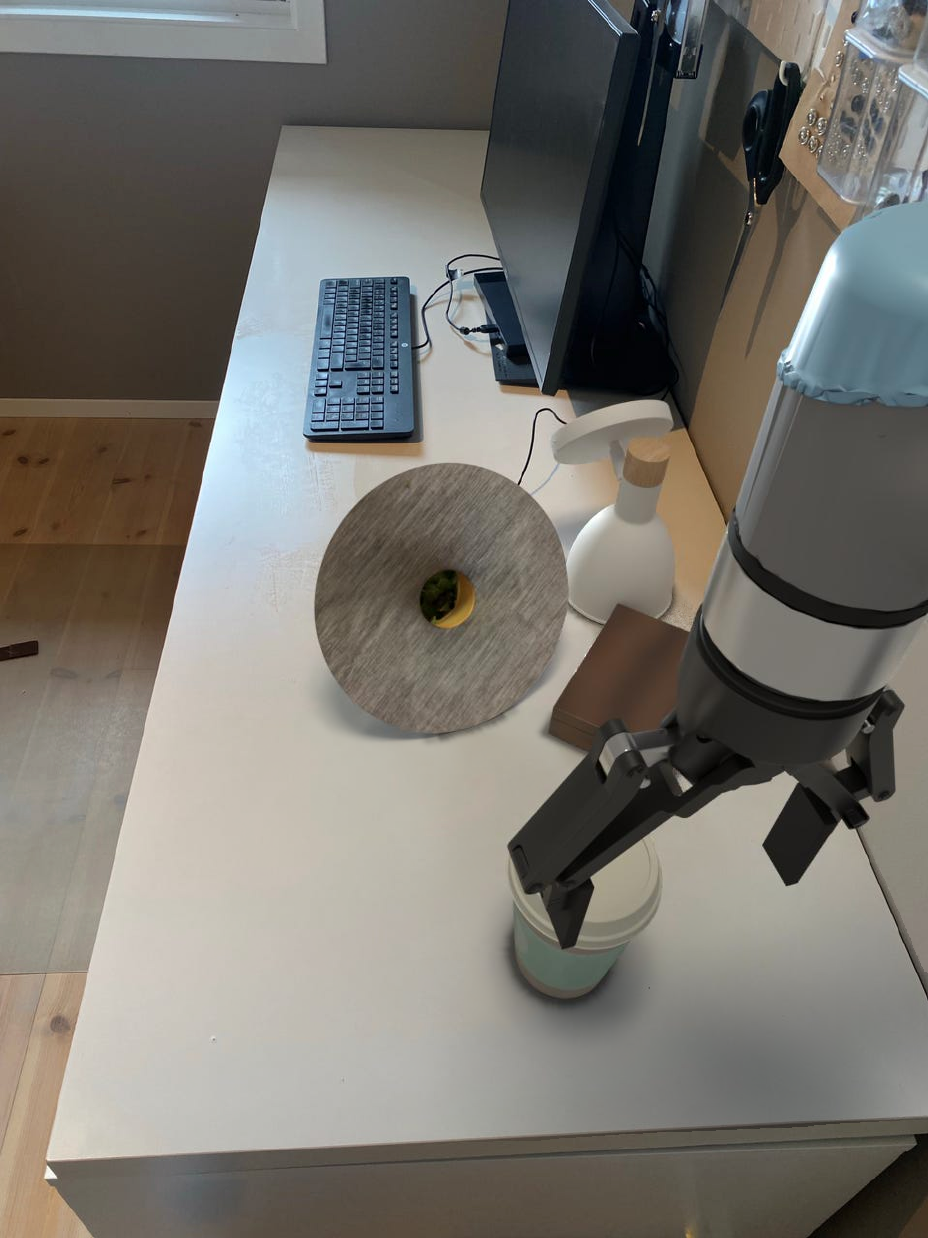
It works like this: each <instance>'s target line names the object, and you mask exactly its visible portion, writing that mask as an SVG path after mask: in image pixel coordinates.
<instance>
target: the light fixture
mask: <svg viewBox="0 0 928 1238" xmlns="http://www.w3.org/2000/svg"><path fill="white" fill-rule="evenodd" d="M673 427H674V420H673V416H672V413H671V409H670V406H669V404H668V403H667V402H665V401H663V400H658V399H639V400H632V401H626V402H621V403H616V404H613V405H609V406H606V407H603V408H600V409H596V410H593V411H591V412H587V413H586V414H583V415H581V416H579V417H577V418H574V419H573V420H571V421H568V422H567V423H565V424H564V425H562V426H561V427H559V428H558V429H557V430H555V432H553V434H551V436H550V438H549V444H550V448H551V452H552V456H553V459H554V462H557V463H558V464H562V465H568V466H569V465H571V466H573V465H586V464H593V463H599V462H603V461H607V460H611V464H612V467H613V471H614V475H615V478H616V481H617V482H618V481H620V482H619V486H618V491H617V495H616V500H615V502H614V503H612V504H610V505H607V506H606V507H604V508H603V509H602V510H600V511H599V512H598V513H596V514H595V515H594V516H592V518H591V519H589V521H588V522H587V523H586V524H585V525H584V526H583V527H582V529H581V530H580V532H579V533H578V535H577V537H576V539H575V540H574V542H573V544H572V545H571V548H570V550H569V553H568V556H567V559H566V569H567V576H568V587H569V599H568V604H569V605H570V606H571V607H572V608H573V609H574V610H575V611H576V612H578V613H579V614H580V615H582V616H583V617H585V618H587V619H589V620H590V621H593V622H595V623H598V624H601V625H604V624H605V623H606V621H607V619H608V618H609V616H610V615H611V613H612V611H613V610H614V608H615V607H616V605H617V604H618V603H619V604H621V605H624V606H626V607H629V608H631V609H634V610H636V611H639V612H641V613H644V614H646V615H649V616H651V617H654V618H656V619H660V618H661V617H662V616H663V615H664V614H665V613H666V612H667V611H668V609H669V608H670V605H671V603H672V598H673V589H674V583H675V576H676V557H675V550H674V544H673V541H672V538H671V535H670V532H669V530H668V528H667V525H666V524H665V522H664V521H663V519H662V517H661V516H660V515H659V514H658V513H657V511H656V510H657V506H658V502H659V498H660V495H661V492H662V491H661V490H662V487H663V483H664V480H665V478H666V477H665V476H666V472H667V469H668V465H669V461H670V458H671V448H670V447H669V445H668V444H667V443H666V442H664V441H662V440H661V439H662V438H664V437H665V436H667V434H669V432H671V430H672V429H673Z"/></svg>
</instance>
